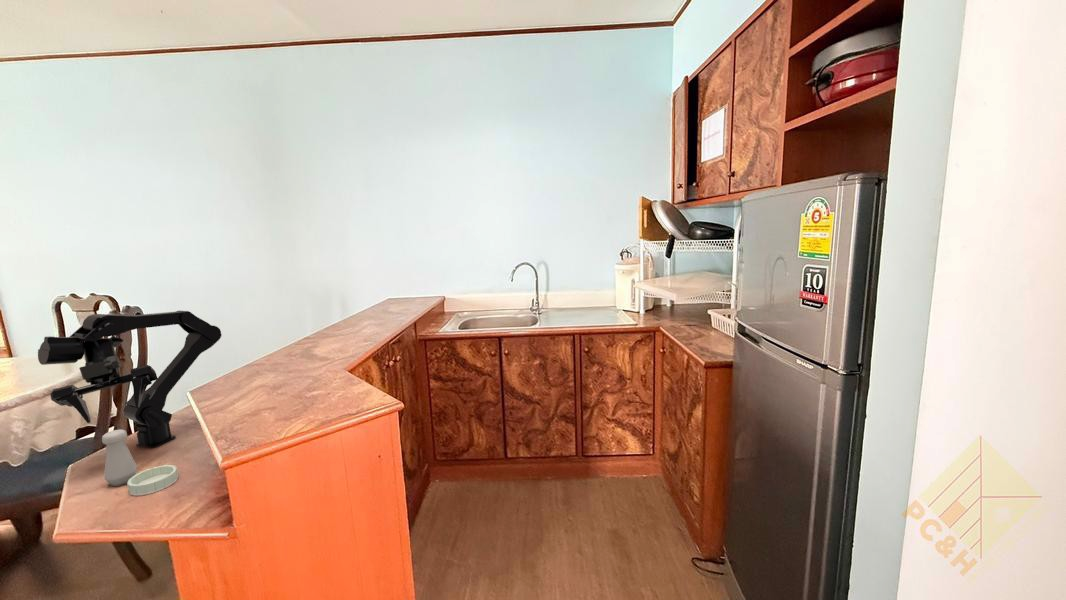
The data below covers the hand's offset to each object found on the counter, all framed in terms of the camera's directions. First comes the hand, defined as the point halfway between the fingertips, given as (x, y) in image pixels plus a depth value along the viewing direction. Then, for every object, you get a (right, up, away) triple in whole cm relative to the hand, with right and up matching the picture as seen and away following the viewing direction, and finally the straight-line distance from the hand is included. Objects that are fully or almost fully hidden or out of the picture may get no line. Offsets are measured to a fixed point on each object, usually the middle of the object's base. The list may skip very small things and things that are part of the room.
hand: (113, 414), depth 106 cm
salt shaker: (+5, -16, -3) cm, 17 cm away
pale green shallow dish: (+14, -16, -5) cm, 22 cm away
